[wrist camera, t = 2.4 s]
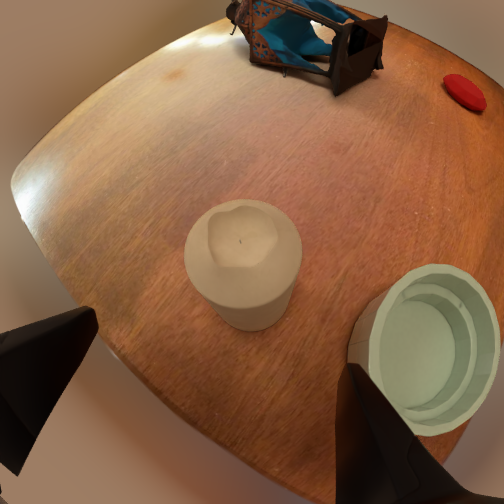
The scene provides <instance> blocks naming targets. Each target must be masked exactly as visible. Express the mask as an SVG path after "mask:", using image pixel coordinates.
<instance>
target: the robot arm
mask: <svg viewBox="0 0 504 504" xmlns="http://www.w3.org/2000/svg"><path fill="white" fill-rule="evenodd" d="M98 329H99V325H98V321H97V317H96V313H95V310H94V309H93V308H91V307H88V306H82V307H79V308H76V309H73V310H70V311H67V312H64V313H62V314H59V315H55V316H52V317H49V318H46V319H43V320H40V321H37V322H34V323H31V324H29V325H25V326H23V327H19V328H16V329H13V330H11V331H7V332H4V333H1V334H0V463H2V464H3V465H4V466H5V467H6V468H7V469H9V470H10V471H11V472H12V473H13V474H15V475H16V476H18V475H19V473H20V471H21V469H22V467H23V465H24V463H25V461H26V459H27V457H28V455H29V453H30V451H31V449H32V447H33V445H34V443H35V441H36V439H37V437H38V435H39V433H40V431H41V430H42V428H43V426H44V424H45V422H46V421H47V419H48V417H49V415H50V413H51V412H52V410H53V408H54V406H55V405H56V403H57V401H58V399H59V398H60V396H61V395H62V393H63V391H64V390H65V388H66V386H67V385H68V383H69V382H70V380H71V378H72V377H73V375H74V373H75V372H76V370H77V369H78V367H79V366H80V364H81V362H82V361H83V359H84V357H85V355H86V353H87V351H88V349H89V347H90V345H91V343H92V342H93V340H94V338H95V336H96V334H97V332H98ZM335 445H336V504H504V498H497V497H491V496H484V495H479V494H475V493H472V492H470V491H468V490H466V489H465V488H463V487H462V486H461V485H460V484H459V483H458V482H457V481H456V480H455V479H454V478H453V477H452V476H451V475H450V474H449V473H448V472H447V471H446V470H445V469H444V468H443V467H442V466H441V465H440V464H439V463H438V462H437V460H436V459H435V458H434V457H433V456H432V455H431V454H430V453H429V451H428V450H427V449H426V448H425V447H424V445H423V444H422V443H421V442H420V440H419V439H418V438H417V436H414V433H413V431H412V430H411V429H410V428H409V426H408V425H407V424H406V422H405V421H404V420H403V418H402V417H401V416H400V415H399V413H398V412H397V411H396V410H395V408H394V407H393V406H392V404H391V403H390V402H389V401H388V399H387V398H386V397H385V396H384V394H383V393H382V392H381V390H380V389H379V388H378V387H377V385H376V384H375V383H374V382H373V380H372V379H371V378H370V377H369V375H368V374H367V373H366V371H365V370H364V369H363V368H362V366H361V365H360V364H358V363H347V364H346V365H345V367H344V369H343V371H342V374H341V376H340V378H339V381H338V389H337V405H336V418H335ZM1 492H2V491H1V486H0V494H1ZM0 504H8V503H7V502H6V501H5V500H3V498H2V497H1V496H0Z"/></svg>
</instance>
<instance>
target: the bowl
mask: <svg viewBox="0 0 504 504" xmlns="http://www.w3.org/2000/svg"><path fill="white" fill-rule="evenodd" d="M348 345H349V346H348V363H358V364H360V365H361V366H362V368H363V369H364V370H365V371H366V373H367V374H368V375H369V377H370V378H371V379H372V380H373V382H374V383H375V384H376V385H377V387H378V388H379V389H380V390H381V392H382V393H383V394H384V396H385V397H386V398H387V399H388V401H389V402H390V403H391V404H392V406H393V407H394V408H395V410H396V411H397V412H398V413H399V415H400V416H401V417H402V418H403V420H404V421H405V422H406V424H407V425H408V426H409V428H410V429H411V430H412V431H413V433H414V434H415V435H421V436H435V435H439V434H442V433H446V432H449V431H451V430H453V429H455V428H456V427H458V426H459V425H461V424H462V423H464V422H465V421H466V420H468V419H469V418H470V417H471V416H472V415H473V414H474V413H475V412H476V410H477V409H478V408H479V407H480V405H481V404H482V403H483V402H484V400H485V398H486V397H487V395H488V392H489V390H490V388H491V386H492V384H493V381H494V379H495V376H496V372H497V367H498V362H499V357H500V329H499V324H498V320H497V317H496V313H495V310H494V307H493V305H492V303H491V301H490V299H489V297H488V296H487V294H486V292H485V291H484V289H483V288H482V286H481V285H480V284H479V283H478V282H477V281H476V280H475V279H474V278H473V277H472V276H471V275H469V274H468V273H467V272H465V271H462V270H460V269H458V268H456V267H454V266H452V265H446V264H427V265H425V266H422V267H419V268H416V269H413V270H411V271H409V272H408V273H406V274H405V275H404V276H403V277H401V278H400V279H399V280H397V281H396V282H395V283H394V284H392V285H391V286H390V287H388V288H387V289H386V290H384V291H383V292H382V293H381V294H379V295H378V296H377V297H376V298H374V299H373V300H372V301H371V302H369V303H368V305H367V306H366V308H365V309H364V311H363V312H362V314H361V315H360V317H359V318H358V320H357V321H356V323H355V326H354V329H353V332H352V335H351V338H350V341H349V344H348Z"/></svg>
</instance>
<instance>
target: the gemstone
mask: <svg viewBox="0 0 504 504" xmlns="http://www.w3.org/2000/svg"><path fill="white" fill-rule="evenodd" d="M443 81H444V83H445V86H446V88H447V91H448V93H449V94H450V95H451V96H452V97H453V98H454V99H455V100H456V101H457V102H458V103H460V104H462V105H463V106H465V107H467V108H468V109H470V110H485V109H486V106H487V104H486V101H485V98H484V95H483V93H482V91H481V90H480V89H479V88H478V87H477V86H476V85H475V84H473V83H472V82H471V81H469V80H468V79H466V78H464V77H463V76H461V75H457V74H450V75H447V76H445V77H444V78H443Z"/></svg>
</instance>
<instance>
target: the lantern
mask: <svg viewBox="0 0 504 504" xmlns="http://www.w3.org/2000/svg"><path fill="white" fill-rule="evenodd" d="M226 16H227V18H228V19H229V20H231V23H232V24H233V25H235V27H234V29H233V32H232V34H231V33H230V34H231V35H233V34H234V31H235V29H236V26H238V27H239V29H240V30H241V31H242V33H243V34H244V36H245V38H246V40H247V42H248V43H249V44H250V59H249V60H250V62H251V63H256V64H264V65H270V66H278V67H283V71H284V74H283V76H284V77H285V76H286V74H287V70H289V69H294V70H300V71H305V72H309V73H314V74H319V75H323V76H326V77H329V78H330V79H331V82H332V85H333V89H334V95H335V97H336V96H339V95H340V94H341V93H342V92H344V91H345V90H346V89H348V88H350V87H351V86H353V85H355V84H357V83H359V82H361V81H363V80H365V79H367V78H369V77H370V76H371V74H372V71H373V70H374V69H376V70H379V69H384V67H383V64H382V60H381V56H382V48H383V39H384V36H385V33H386V30H387V26H388V24H387V21H388V18H387V15H386V14H384V16H383V17H382V18H380V19H369V20H366V21H365V20H362V19H361V18H359V17H357V16H356V15H354V14H352V13H351V12H349V11H348V10H346V9H344V8H343V7H341V6H339V5H337V4H335V3H334V2H332V1H330V0H242V2H241V3H239V2H238V1H237V0H232V2H231V4H230V5H229V6H228V8H227V9H226ZM348 18H351V19H352V20H354V22H352V23H348V24H345V25H340V24H338V23H342V24H343V23H345V22H346V20H347V19H348ZM311 20H313V21H315V22H317V23H321V26H323V25H325V26H326V27H328V28H331V29H333V30H334V32H335V33H336V36H334V38H333V40H332V45H331V44H325V43H324V41H323V40H322V39H320V38H318V36H317V35H316V34H315V32H314V29H313V26H312V25H311V23H310V21H311ZM300 55H312V56H313V55H326V56H330V59H329V62H330V63H331V64H330V67H329V70H328V71H324V70H322V69H320V68H319V67H318V66H316V65H314V64H311V63H309V62H308V61H306V60H305V59H303V58H302V57H301V56H300Z"/></svg>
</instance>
